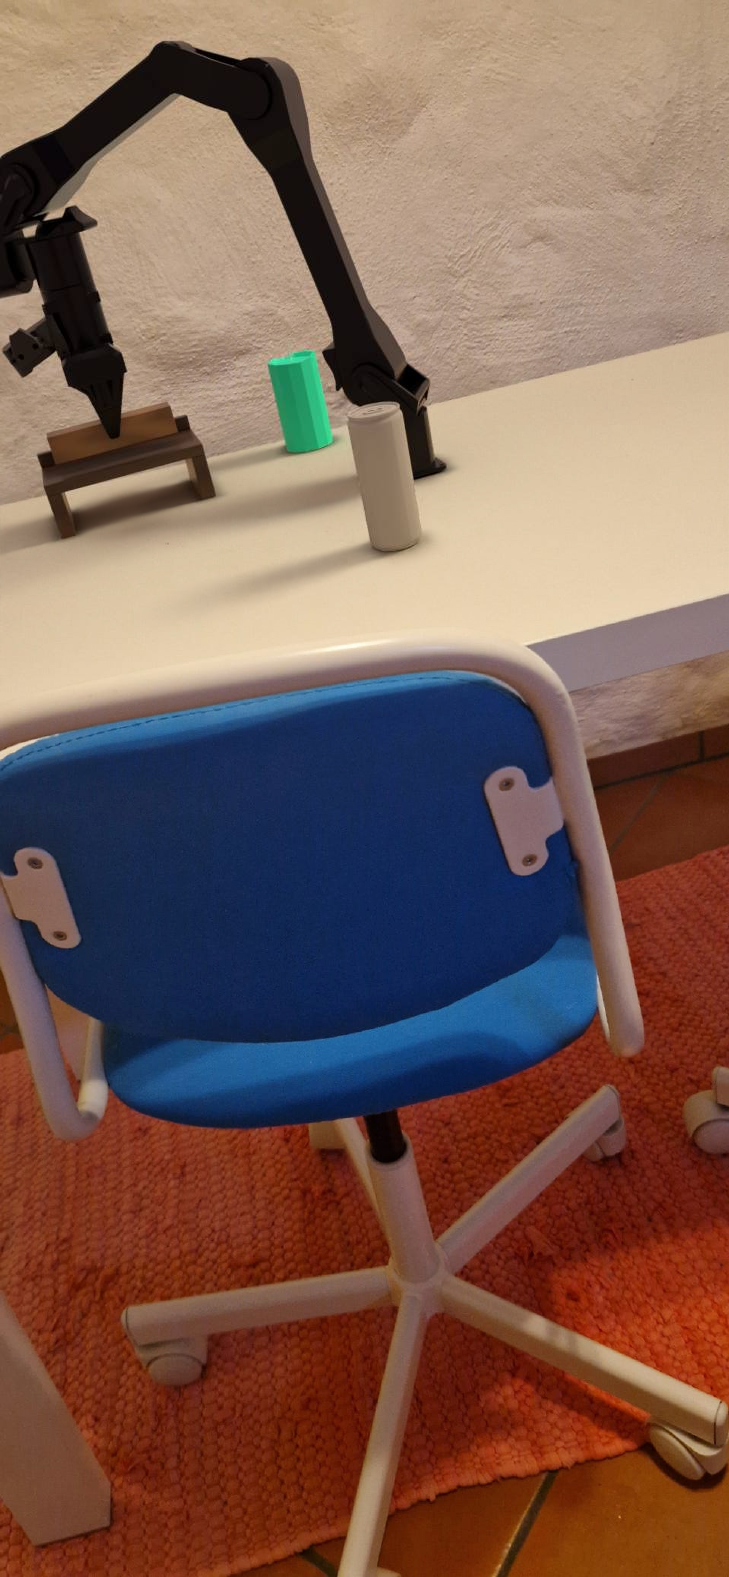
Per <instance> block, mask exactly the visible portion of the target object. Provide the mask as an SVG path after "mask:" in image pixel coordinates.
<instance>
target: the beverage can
mask: <svg viewBox="0 0 729 1577" xmlns="http://www.w3.org/2000/svg"><path fill="white" fill-rule="evenodd" d="M346 417H347V419H348V420H347V424H346V425H347V430H348V435H349V441H350V444H351V445H350V446H351V450H352V456H353V461H354V467H355V470H356V476H357V482H358V486H359V492H360V496H361V497H360V498H361V502H362V507H363V512H364V518H365V522H366V527H367V528H366V529H367V532H368V538H369V542H370V544H371V545H372V546H373V547H374V548H375V549H376V550H378V551H382V552H395V551H401V550H404V549H408V548H410V547H412V546H414V545H415V544H417V543H418V542H419V541H420V539H421V537H422V534H423V528H422V522H421V517H420V512H419V505H418V499H417V494H416V486H415V482H414V478H413V474H412V468H411V462H410V456H409V450H408V444H407V438H406V432H405V426H404V420H403V414H402V411H401V410H400V409H399V404H398V403H396V402H380V403H374V404H369V405H365V406H362V407H359V406H358V407H357V408H354V409H351V410H350V411H349V412H348V413H347V416H346Z"/></svg>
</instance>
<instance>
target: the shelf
mask: <svg viewBox="0 0 729 1577" xmlns="http://www.w3.org/2000/svg"><path fill="white" fill-rule="evenodd" d="M173 417H174V416H173ZM174 420H175V424H176V427H177V431H178V432H177V433H174V434H171V435H167V436H163V437H159V438H156V439H152V440H148V441H144V442H141V443H137V444H133V445H130V446H126V447H122V448H118V449H115V450H111V451H107V452H103V453H100V454H96V455H92V456H88V457H85V458H81V459H77V460H73V461H70V462H66V463H62V464H59V465H56V463H55V460H54V457H53V455H52V452H51V449H49V450H45V451H42V452H38V453H36V457H37V459H38V463H39V466H40V468H41V477H42V486H43V490H44V492H45V495H46V498H47V501H48V503H49V506H50V509H51V512H52V515H53V518H54V520H55V523H56V526H57V529H58V531H59V534H60V537H61V539H65V538H69V537H72V536H76V528H75V522H74V517H73V512H72V509H71V506H70V503H69V500H68V497H67V495H66V492H70V491H71V492H72V491H74V490H78V489H81V488H85V487H89V486H92V485H96V484H101V483H104V482H107V481H112V480H115V479H118V478H123V477H127V476H130V475H133V474H138V473H140V472H145V471H149V470H152V469H155V468H159V467H164V466H167V465H170V464H174V463H178V462H182V461H185V464H186V465H185V466H186V468H187V472H188V476H189V479H190V481H191V482H192V485H193V486H194V488H195V489H196V490H197V492H198V494H199V495H200V497H201V498H202V500H207V499H211V498H213V497H216V496H217V493H216V489H215V486H214V483H213V479H212V473H211V471H210V468H209V463H208V459H207V456H206V452H205V449H204V445H203V443H202V442H201V440H200V439H199V438H198V436H197V435H196V433H195V432H194V431H193V429H192V428H191V424H190V421H189V417H188V415H187V414H186V413H185V414H181V415H178V416H175V417H174Z"/></svg>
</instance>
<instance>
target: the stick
mask: <svg viewBox="0 0 729 1577" xmlns="http://www.w3.org/2000/svg"><path fill="white" fill-rule="evenodd" d="M177 432H178V431H177V427H176V424H175V420H174V413H173V409H172V406H171V405H170V404H169V402H168V401H162V402H159V403H156V404H151V405H147V406H144V407H140V408H136V409H134V410H128V411H124V412H121V426H120V436H119V437H118V438H115V439H110V438H109V436H108V434H107V432H106V430H105V428H104V426H103V424H102V422H101V421H100V419H99V418H98V419H95V420H91V421H87V422H83V423H79V424H76V425H72V426H68V427H64V428H60V429H56V430H53V431H49V432H46V433H45V434H46V441H47V443H48V446H49V448H50V449H49V450H51V452H52V455H53V457H54V460H55V463H56V465H59V464H62V463H66V462H70V461H73V460H77V459H81V458H85V457H88V456H92V455H96V454H100V453H103V452H107V451H111V450H115V449H118V448H122V447H126V446H130V445H133V444H137V443H141V442H144V441H148V440H152V439H156V438H159V437H163V436H167V435H171V434H174V433H177Z"/></svg>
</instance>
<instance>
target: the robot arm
mask: <svg viewBox="0 0 729 1577" xmlns="http://www.w3.org/2000/svg"><path fill="white" fill-rule="evenodd" d="M181 96H182V97H185V98H187V99H189V100H192V101H194V102H196V103H198V104H201V105H203V106H206V107H209V108H212V109H216V110H218V111H222V112H224V113H227V116H228V118H229V119H230V121H231V122H232V124H233V126H234V127H235V129H236V131H237V132H238V134H239V136H240V138H241V139H242V141H243V142H244V144H245V146H246V147H247V149H248V150H249V151H250V152H251V154H252V155H253V156H254V157H255V158H256V160H257V161H258V162H259V163H260V165H261V166H262V167H263V168H264V170H265V172H267V174H268V175H269V177H270V179H271V180H272V183H273V186H274V188H275V190H276V193H277V195H278V197H279V198H278V199H279V200H280V202H281V205H282V207H283V210H284V212H285V215H286V217H287V220H288V222H289V224H290V227H291V229H292V232H293V234H294V236H295V239H296V242H297V244H298V247H299V248H300V252H301V254H302V257H303V258H304V261H305V264H306V267H307V268H308V271H309V273H310V276H311V278H312V281H313V284H314V285H315V288H316V290H317V293H318V295H319V297H320V301H321V302H322V304H323V307H324V310H325V312H326V314H327V317H328V319H329V322H330V326H331V333H332V341H330V343H329V344H328V345H327V346H326V347H325V348H324V349H323V350H322V351H321V354H322V356H323V359H324V361H325V363H326V364H327V366H328V367H329V370H330V371H331V373H332V376H333V378H334V382H335V383H334V384H335V391H336V392H339V391H341V389H342V392H343V394H344V396H345V397H346V399H347V400H348V401H349V402H350V403H351V404H352V405H354V406H357V407H358V408H359V407H362V406H365V405H369V404H374V403H380V402H396V403H398V404H399V409H400V410H401V411H402V414H403V420H404V426H405V432H406V438H407V444H408V450H409V456H410V462H411V468H412V474H413V479H415V478H420V477H423V476H425V475H430V474H432V473H437V472H441V471H444V470H446V469H447V468H448V467H447V466H448V465H447V463H446V462H444V461H443V460H441V459H440V458H438V457H436V456H435V451H434V450H435V449H434V443H433V438H432V431H431V425H430V417H429V411H428V407H427V406H425V405H424V404H425V402H426V401H427V400H428V398H429V394H430V388H431V379H430V378H428V377H427V376H426V375H425V374H423V373H422V372H420V370H418V369H416V367H414V366H413V365H411V364H410V363H409V362H407V358H406V356H405V353H404V352H403V349H402V348H401V346H400V344H399V343H398V341H397V339H396V338H395V336H394V334H393V333H392V331H391V329H390V327H389V326H388V325H387V323H386V322H385V321H384V320H383V318H382V317H381V316H380V315H379V313H378V312H377V311H376V309H374V307H373V306H372V304H371V303H370V301H369V299H368V296H367V292H366V291H365V288H364V286H363V283H362V281H361V278H360V275H359V273H358V271H357V268H356V265H355V263H354V260H353V258H352V255H351V252H350V249H349V248H348V245H347V242H346V240H345V237H344V234H343V232H342V229H341V227H340V224H339V222H338V219H337V217H336V214H335V212H334V209H333V206H332V204H331V202H330V198H329V196H328V194H327V191H326V188H325V186H324V184H323V181H322V177H321V175H320V172H319V170H318V168H317V166H316V163H315V160H314V157H313V152H312V144H311V142H312V141H311V133H310V126H309V117H308V112H307V108H306V103H305V100H304V95H303V91H302V86H301V82H300V79H299V77H298V75H297V73H296V71H295V70H294V68H293V67H292V66H291V65H290V64H289V63H288V62H286V61H284V60H282V59H280V58H278V57H275V56H248V57H246V58H243V59H240V58H236V57H232V56H227V55H224V54H221V53H217V52H213V51H209V50H206V49H202V48H198V47H196V46H193V45H192V44H191V43H189V42H186V41H185V40H162V41H160V42H158V43H156V44H155V45H154V46H153V47H152V49H151V51H150V52H149V53H148V54H147V56H145V57H144V58H142V59H141V61H139V62H138V63H137V64H136V65H134V66H133V67H132V68H131V69H130V70H128V71H127V72H125V74H124V75H123V76H121V77H120V78H119V79H117V81H115V82H114V83H113V84H112V85H111V86H109V87H108V88H107V89H106V90H105V91H102V93H101V94H99V95H98V96H97V97H96V98H95V99H93V101H91V102H90V103H88V105H86V106H84V108H83V109H82V110H80V111H79V112H77V113H76V114H75V115H74V116H73V117H71V118H70V119H69V120H68V121H67V122H66V123H64V125H61V126H60V127H58V128H56V129H54V130H52V131H50V132H47V133H45V134H42V135H40V136H37V137H35V138H33V139H30V140H28V141H26V142H25V143H23V144H20V145H19V146H17V147H15V148H13V149H10V150H8V151H6V152H5V153H3V154H2V155H1V156H0V300H1V299H6V298H10V297H16V296H22V295H26V294H27V295H28V294H29V293H30V292H32V290H33V287H34V281H36V283H37V286H38V290H39V293H40V296H41V300H42V303H41V309H42V313H43V314H44V317H42V318H40V319H39V320H38V321H36V322H35V323H33V324H32V325H31V326H29V327H28V328H27V329H24V328H22V327H18V328H17V330H15V332H13V333H10V334H9V335H8V340H9V342H8V343H6V344H5V345H4V346H3V347H2V349H1V352H2V354H3V355H4V356H5V358H6V359H7V361H8V362H9V364H10V365H12V367H13V368H14V369H15V371H16V372H17V374H18V375H19V376H20V377H21V378H22V379H24V378H25V377H28V376H29V375H30V374H31V373H33V371H34V369H35V368H36V367H37V366H39V365H40V364H42V363H43V362H44V361H46V360H47V359H48V358H50V357H51V356H53V355H54V354H55V353H56V354H57V357H58V358H59V360H60V363H61V364H60V365H61V369H62V373H63V375H64V378H65V381H66V385H67V387H68V388H72V389H74V390H76V391H78V392H80V393H82V394H84V395H85V396H86V397H87V398H88V400H89V403H90V404H91V406H92V407H93V409H94V411H95V413H96V415H97V417H98V419H100V421H101V422H102V424H103V426H104V428H105V430H106V432H107V434H108V436H109V438H110V439H115V438H118V437H119V436H120V426H121V413H122V410H123V409H122V408H123V396H124V395H123V394H124V393H123V392H124V382H125V376H126V375H125V374H127V373H128V369H127V365H126V362H125V359H124V356H123V353H122V351H121V350H120V348H118V347H117V346H115V345H114V339H113V336H112V333H111V332H110V329H109V326H108V323H107V318H106V316H105V312H104V309H103V306H102V299H101V295H100V292H99V291H98V289H97V286H96V282H95V279H94V276H93V273H92V269H91V265H90V263H89V259H88V255H87V253H86V248H85V245H84V243H83V239H82V236H81V233H83V232H86V231H89V230H92V229H95V228H97V227H98V220H97V219H95V218H94V217H92V216H90V215H89V214H87V213H85V212H84V211H82V210H81V209H80V208H79V207H78V205H76V204H74V205H71V206H67V207H65V206H66V205H67V204H68V203H69V202H70V201H71V199H72V198H73V197H74V196H75V195H76V193H77V192H78V191H79V190H80V189H81V188H82V186H83V185H84V184H85V182H86V180H87V178H88V177H89V175H90V173H91V171H92V170H93V168H95V166H96V165H97V164H98V162H99V161H100V160H102V159H103V158H104V157H106V155H108V154H109V153H110V152H112V151H113V150H114V149H115V148H116V147H118V146H119V145H121V144H122V143H123V142H124V141H126V140H127V139H128V138H129V137H130V136H132V135H133V134H134V133H136V132H137V131H138V130H139V129H141V128H142V127H143V126H144V125H145V124H147V123H148V122H149V121H151V120H152V119H153V118H155V116H156V117H157V115H158V114H160V113H161V112H162V111H163V110H164V109H166V108H167V107H168V106H169V105H171V104H172V103H174V102H175V101H176V100H177V99H179V97H181ZM64 207H65V208H64ZM62 208H64V212H63V214H62V216H59V217H54V218H50V219H47V218H48V216H49V214H50V213H51V212H54V211H58V210H60V209H62ZM35 226H36V227H35ZM32 227H35V232H34V234H31V235H27V236H25V234H24V230H25V229H29V228H32Z"/></svg>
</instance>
